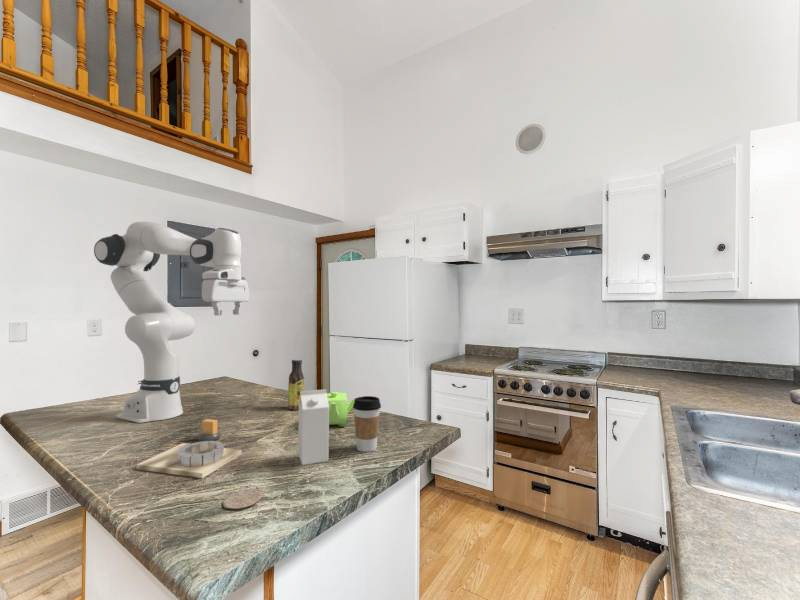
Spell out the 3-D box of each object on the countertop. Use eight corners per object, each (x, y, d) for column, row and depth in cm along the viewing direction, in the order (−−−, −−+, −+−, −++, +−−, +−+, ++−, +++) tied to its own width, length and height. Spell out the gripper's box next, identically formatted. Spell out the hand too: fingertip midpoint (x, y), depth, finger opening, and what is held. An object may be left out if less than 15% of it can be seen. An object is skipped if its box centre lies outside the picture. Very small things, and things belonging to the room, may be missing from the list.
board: (136, 469, 97) (136, 464, 97) (182, 447, 111) (182, 443, 111) (202, 478, 92) (202, 473, 92) (241, 454, 107) (241, 450, 107)
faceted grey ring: (167, 464, 97) (167, 454, 97) (199, 448, 108) (199, 439, 108) (203, 468, 95) (203, 458, 95) (231, 452, 105) (231, 443, 105)
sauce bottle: (299, 411, 149) (299, 361, 149) (284, 410, 150) (285, 360, 150) (306, 406, 155) (307, 358, 156) (292, 405, 157) (293, 358, 157)
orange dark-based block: (194, 442, 116) (194, 422, 116) (208, 435, 122) (208, 416, 122) (210, 444, 114) (211, 424, 114) (224, 437, 120) (224, 418, 120)
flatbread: (243, 489, 87) (243, 485, 87) (268, 496, 84) (268, 492, 84) (213, 507, 80) (214, 502, 80) (240, 515, 77) (240, 510, 77)
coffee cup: (347, 451, 110) (348, 399, 110) (360, 441, 118) (360, 393, 118) (373, 455, 107) (374, 402, 107) (384, 444, 115) (385, 396, 115)
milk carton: (298, 455, 106) (298, 388, 106) (323, 451, 109) (323, 386, 109) (302, 465, 100) (302, 394, 100) (328, 461, 102) (329, 392, 103)
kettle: (333, 433, 124) (333, 399, 124) (304, 425, 132) (304, 393, 132) (362, 421, 137) (362, 390, 137) (333, 415, 145) (334, 385, 145)
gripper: (238, 277, 141) (238, 314, 141) (198, 273, 121) (197, 315, 121) (253, 277, 139) (253, 314, 139) (215, 272, 119) (214, 316, 119)
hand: (227, 315), depth 130 cm, fingers open, 8 cm apart
